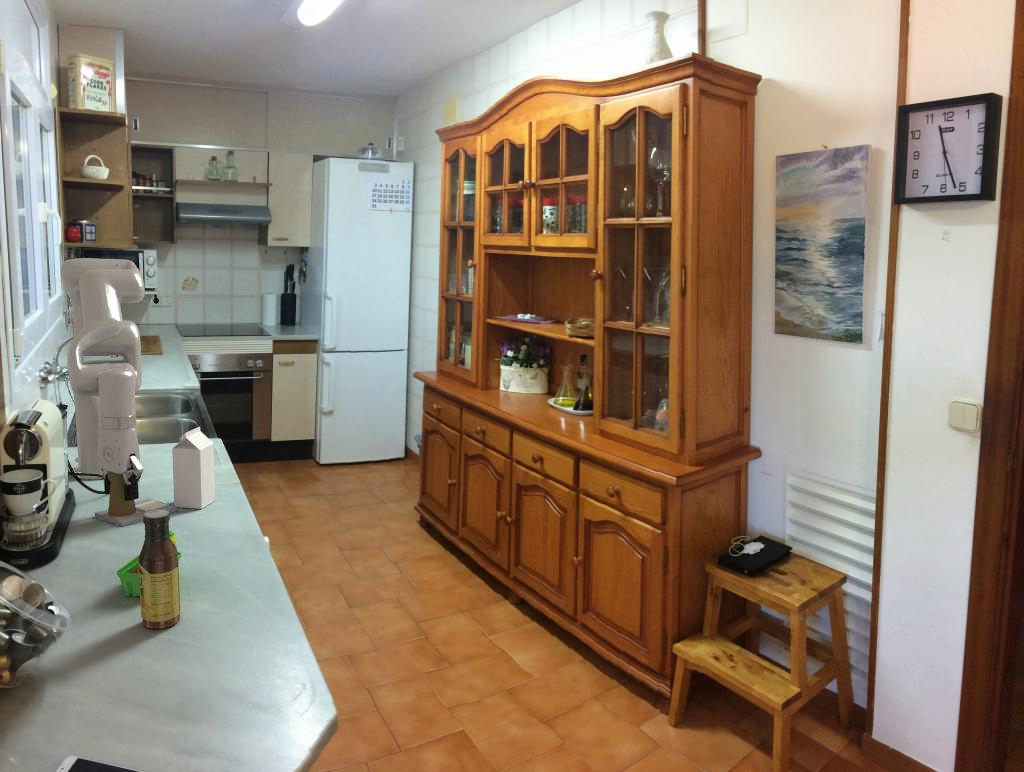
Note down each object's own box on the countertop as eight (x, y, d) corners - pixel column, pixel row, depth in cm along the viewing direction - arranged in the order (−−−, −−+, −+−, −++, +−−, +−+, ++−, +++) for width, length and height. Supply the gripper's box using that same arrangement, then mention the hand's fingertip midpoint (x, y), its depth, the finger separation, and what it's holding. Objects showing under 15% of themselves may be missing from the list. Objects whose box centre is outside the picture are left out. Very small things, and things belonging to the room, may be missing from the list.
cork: (142, 510, 190) (140, 465, 188) (122, 518, 184) (119, 471, 182) (122, 507, 192) (119, 462, 190) (101, 514, 186) (99, 468, 184)
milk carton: (215, 501, 203) (213, 427, 199) (201, 509, 196) (199, 433, 192) (188, 499, 203) (186, 425, 200) (174, 507, 196) (171, 432, 193)
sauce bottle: (149, 614, 140) (144, 505, 137) (186, 614, 141) (182, 505, 138) (135, 632, 134) (130, 518, 131) (173, 632, 134) (169, 518, 131)
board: (94, 516, 188) (94, 511, 188) (149, 502, 200) (149, 497, 199) (122, 526, 182) (122, 521, 182) (176, 511, 194) (176, 506, 194)
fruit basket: (145, 574, 157) (143, 519, 155) (190, 576, 157) (188, 521, 155) (115, 599, 146) (112, 540, 144) (163, 601, 146) (161, 542, 144)
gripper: (81, 419, 186) (84, 493, 189) (125, 430, 176) (128, 508, 179) (111, 414, 192) (115, 486, 195) (156, 425, 183) (158, 500, 186)
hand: (121, 496), depth 187 cm, fingers open, 7 cm apart
